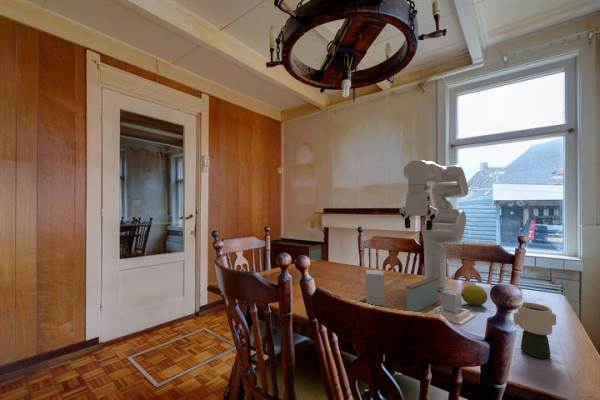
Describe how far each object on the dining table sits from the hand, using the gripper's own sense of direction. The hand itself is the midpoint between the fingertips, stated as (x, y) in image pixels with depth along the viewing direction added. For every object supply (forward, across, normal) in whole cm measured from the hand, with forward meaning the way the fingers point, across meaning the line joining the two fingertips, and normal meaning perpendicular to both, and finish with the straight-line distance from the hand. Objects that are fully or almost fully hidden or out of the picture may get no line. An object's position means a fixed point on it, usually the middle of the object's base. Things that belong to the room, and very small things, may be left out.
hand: (418, 229), depth 118 cm
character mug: (+31, -42, +15) cm, 54 cm away
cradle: (+30, -16, +6) cm, 35 cm away
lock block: (+30, -16, +6) cm, 34 cm away
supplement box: (+31, +10, +17) cm, 36 cm away
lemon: (+31, -17, -11) cm, 37 cm away
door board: (+30, -5, +6) cm, 31 cm away
